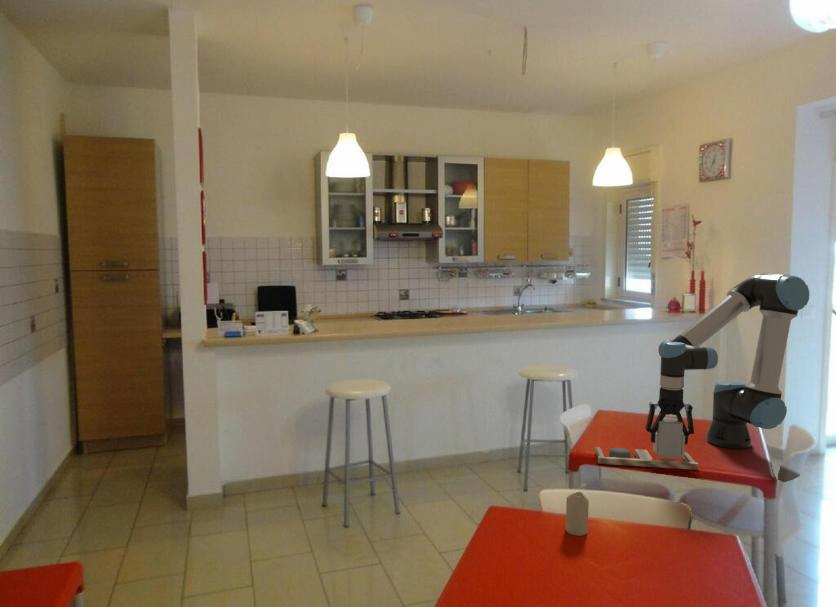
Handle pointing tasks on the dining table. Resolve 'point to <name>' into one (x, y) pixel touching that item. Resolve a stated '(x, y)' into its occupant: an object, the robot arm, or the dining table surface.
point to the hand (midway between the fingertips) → (668, 452)
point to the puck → (619, 453)
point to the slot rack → (647, 460)
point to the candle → (577, 514)
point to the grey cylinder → (669, 438)
